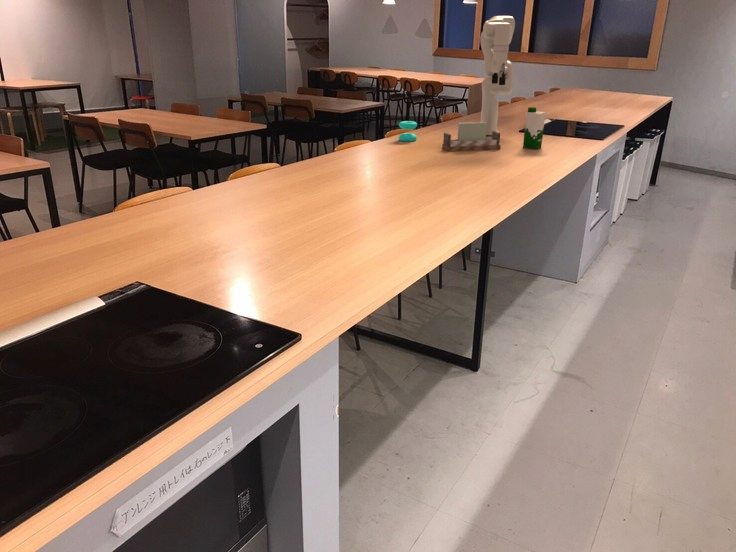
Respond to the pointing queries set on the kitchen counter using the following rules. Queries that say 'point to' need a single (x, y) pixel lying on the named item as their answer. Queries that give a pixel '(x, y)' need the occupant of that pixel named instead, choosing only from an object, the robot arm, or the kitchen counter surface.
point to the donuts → (407, 135)
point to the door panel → (472, 131)
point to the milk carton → (533, 128)
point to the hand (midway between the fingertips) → (498, 84)
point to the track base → (471, 143)
